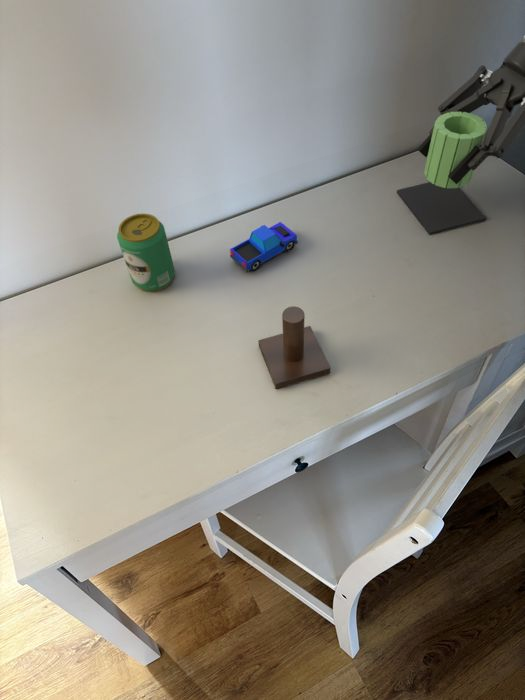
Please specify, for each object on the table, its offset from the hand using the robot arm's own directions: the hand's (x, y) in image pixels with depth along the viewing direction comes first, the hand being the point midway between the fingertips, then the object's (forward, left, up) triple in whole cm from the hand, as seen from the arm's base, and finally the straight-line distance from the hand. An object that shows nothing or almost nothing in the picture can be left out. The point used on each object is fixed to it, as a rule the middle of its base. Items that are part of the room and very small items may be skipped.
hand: (436, 166), depth 98 cm
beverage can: (0, +55, -10) cm, 56 cm away
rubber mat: (0, -3, -10) cm, 10 cm away
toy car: (-1, +34, -10) cm, 35 cm away
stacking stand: (-26, +37, -10) cm, 46 cm away
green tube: (0, -3, -3) cm, 4 cm away
